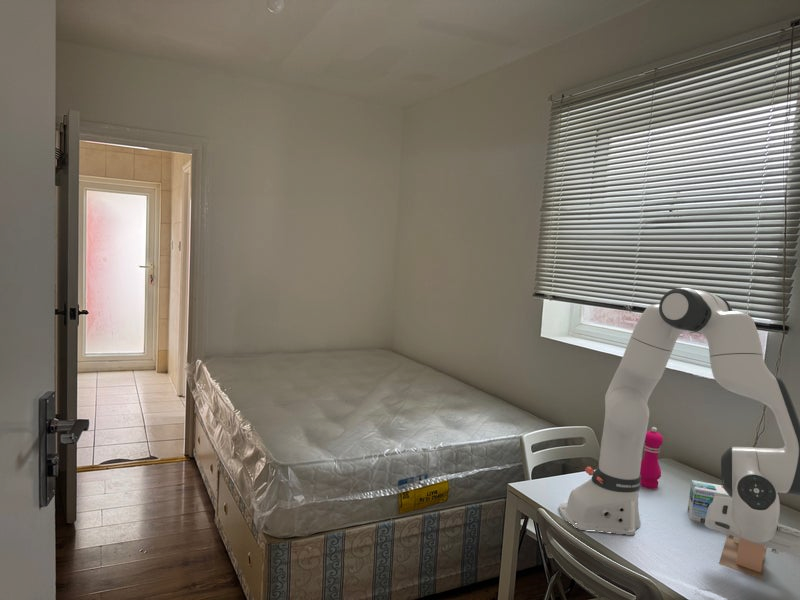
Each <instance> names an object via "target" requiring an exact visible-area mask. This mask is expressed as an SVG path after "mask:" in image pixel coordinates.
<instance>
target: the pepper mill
mask: <svg viewBox="0 0 800 600" xmlns="http://www.w3.org/2000/svg"><path fill="white" fill-rule="evenodd" d="M657 431H658V428H657V427H655V426H652V427H651V429H650V430H647V432H646V437H645V442H644V446H643V450H644V454H643V456H642V460H641V469H640V475H641V484H640V487H643V488H646V489H650V490H656V489H658V487H659V481H658V480H659V479H661V477H662V469H661V467H660V464H659V453H660V452H661V446H662V445H663V443H664V437H663V435H662V434H660V433H659V432H657Z"/></svg>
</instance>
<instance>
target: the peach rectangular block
mask: <svg viewBox="0 0 800 600" xmlns="http://www.w3.org/2000/svg"><path fill="white" fill-rule="evenodd" d="M764 548H765V546H763V545H760V544H757V543H754V542H751V541H747V540H744V539H741V538H740V539H739V546H738V553H737V560H736V564H738V565H741V566H743V567H746V568H749V569H752V570H755V571H758V572H761V568H762V562H763V555H764Z"/></svg>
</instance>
